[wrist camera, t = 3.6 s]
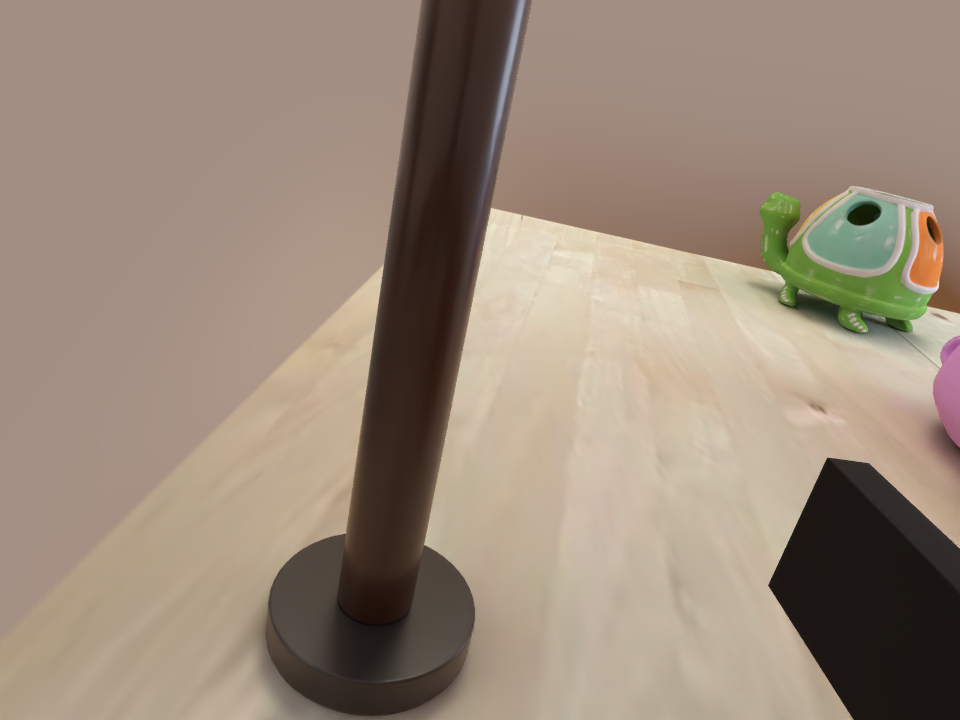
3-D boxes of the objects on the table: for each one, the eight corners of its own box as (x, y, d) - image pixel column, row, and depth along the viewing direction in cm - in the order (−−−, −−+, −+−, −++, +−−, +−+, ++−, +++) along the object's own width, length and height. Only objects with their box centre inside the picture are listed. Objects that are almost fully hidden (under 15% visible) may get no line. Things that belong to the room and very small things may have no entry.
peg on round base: (273, 734, 17) (363, -120, 10) (259, 567, 22) (312, -79, 15) (496, 697, 19) (699, -20, 12) (437, 553, 24) (556, -14, 17)
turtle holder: (770, 273, 80) (809, 169, 75) (933, 335, 67) (992, 216, 63) (709, 277, 72) (748, 161, 67) (882, 348, 60) (944, 213, 55)
